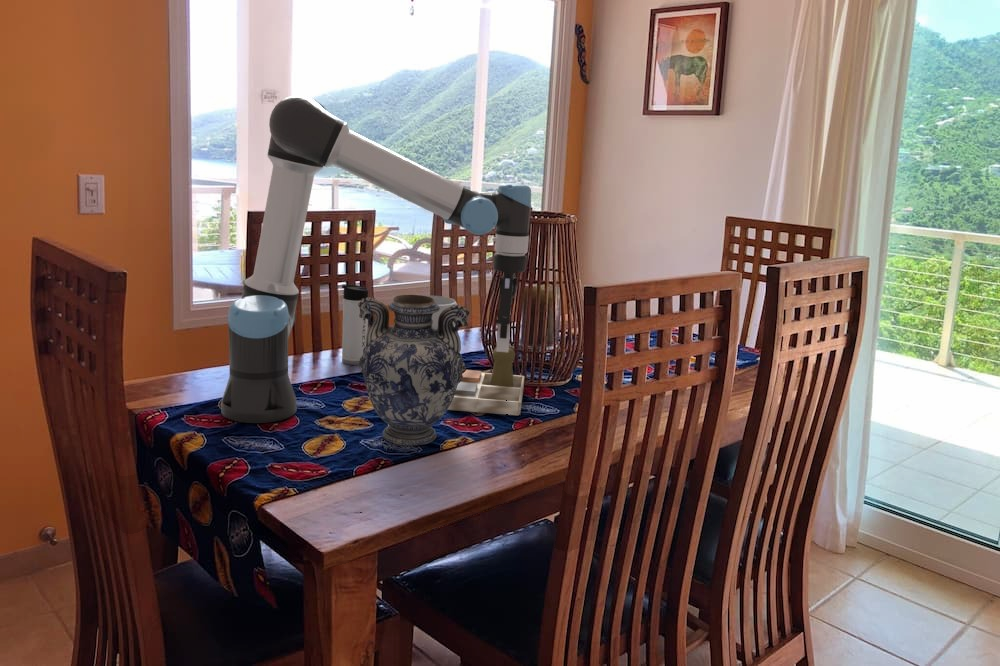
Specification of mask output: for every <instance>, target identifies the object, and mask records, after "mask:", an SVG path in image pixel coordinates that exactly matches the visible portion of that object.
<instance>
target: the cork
mask: <svg viewBox="0 0 1000 666" xmlns="http://www.w3.org/2000/svg"><path fill="white" fill-rule="evenodd" d="M496 348H497V347H495V348H494V349H493V352H492V358H493V361H494V363H493V368H492V377H491V382H490V385H492V386H505V387H514V385H513V375H514V370H513V362H514V361H515V357H516V353H515V349H513V348H512V347H509V351H508V352H497V351H496Z"/></svg>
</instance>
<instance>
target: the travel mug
mask: <svg viewBox="0 0 1000 666" xmlns="http://www.w3.org/2000/svg"><path fill="white" fill-rule="evenodd" d="M341 289H343V291H342V292H343V293H342V294H343V296H342V298H343V299H342V336H341V337H342V339H341V340H342V343H341V344H342V348H341V350H342V351H341V352H342V353H341V355H342V356H341V362H342V363H343V364H345V365H348V366H360V365H359V361H360V358H361V356H362V355H363V349H364V347H366V334H367V331H368V328H369V326H368V325H369V324H368V320H367V319H363V318H360V317H359V314H360V307H359V306H358V303H359V302H361V299H362V298H364V299H366V298H367V297H369V289H367V287H365V286H360V285H355V284H342V285H341Z"/></svg>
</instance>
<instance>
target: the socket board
mask: <svg viewBox="0 0 1000 666" xmlns="http://www.w3.org/2000/svg"><path fill="white" fill-rule="evenodd" d="M462 375H463V378H462V380H461V381H460V383H458V385H457V389H456V392H455V395H454V398H453V400H452V402H451V404H450V406H449V408H448V409H447V411H460V412H470V413H482V414H483V413H484V414H496V415H506V414H508V415H509V416H519V415H520V416H521V410H522V403H523V395H524V388H525V387H524V386H525V375H517V374H513V385H514V387H505V386H492V385H490V382H491V377H492V373H491V372H482V370H472V369H466V371H465V372H464V373H463V374H462ZM506 400H507V401H506ZM508 415H507V416H508Z"/></svg>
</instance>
